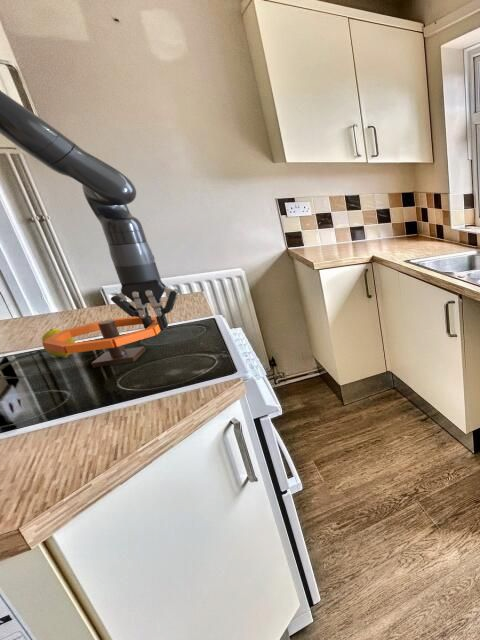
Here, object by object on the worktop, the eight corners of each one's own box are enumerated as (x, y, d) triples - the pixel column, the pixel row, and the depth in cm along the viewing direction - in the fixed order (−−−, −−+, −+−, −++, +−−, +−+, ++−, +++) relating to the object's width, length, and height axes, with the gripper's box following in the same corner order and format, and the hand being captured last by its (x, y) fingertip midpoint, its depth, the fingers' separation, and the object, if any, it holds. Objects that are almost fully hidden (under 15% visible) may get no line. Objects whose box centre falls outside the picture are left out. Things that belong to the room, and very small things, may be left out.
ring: (29, 359, 90) (25, 351, 90) (76, 330, 108) (73, 323, 108) (148, 343, 98) (145, 335, 97) (173, 318, 116) (171, 312, 115)
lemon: (65, 362, 105) (52, 332, 102) (43, 362, 105) (29, 332, 102) (86, 353, 110) (74, 324, 107) (65, 354, 110) (52, 325, 107)
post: (93, 368, 101) (76, 329, 97) (107, 357, 107) (92, 319, 104) (134, 362, 103) (119, 324, 100) (146, 351, 110) (132, 315, 107)
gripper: (90, 267, 95) (117, 339, 101) (164, 261, 100) (186, 330, 106) (104, 262, 101) (129, 330, 107) (173, 257, 106) (193, 322, 112)
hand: (157, 330), depth 107 cm, fingers closed on ring, 2 cm apart
